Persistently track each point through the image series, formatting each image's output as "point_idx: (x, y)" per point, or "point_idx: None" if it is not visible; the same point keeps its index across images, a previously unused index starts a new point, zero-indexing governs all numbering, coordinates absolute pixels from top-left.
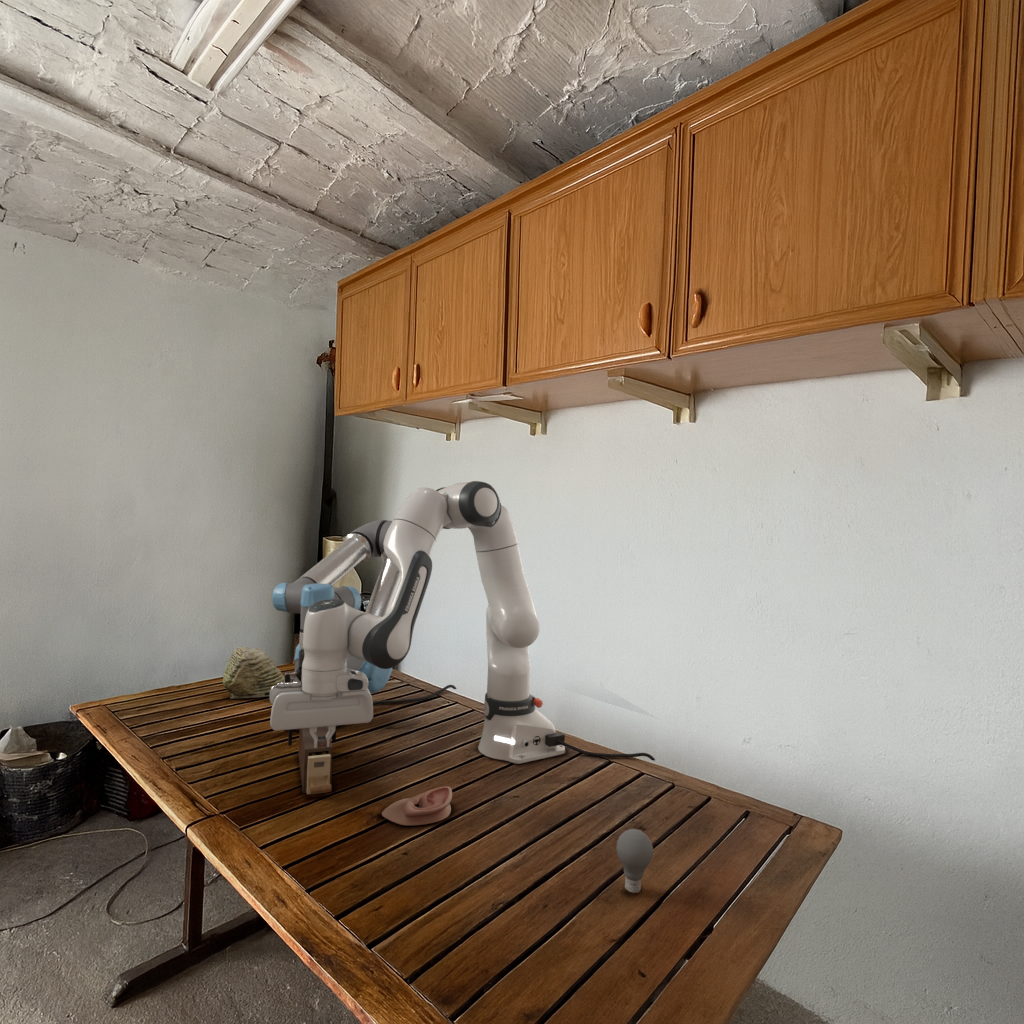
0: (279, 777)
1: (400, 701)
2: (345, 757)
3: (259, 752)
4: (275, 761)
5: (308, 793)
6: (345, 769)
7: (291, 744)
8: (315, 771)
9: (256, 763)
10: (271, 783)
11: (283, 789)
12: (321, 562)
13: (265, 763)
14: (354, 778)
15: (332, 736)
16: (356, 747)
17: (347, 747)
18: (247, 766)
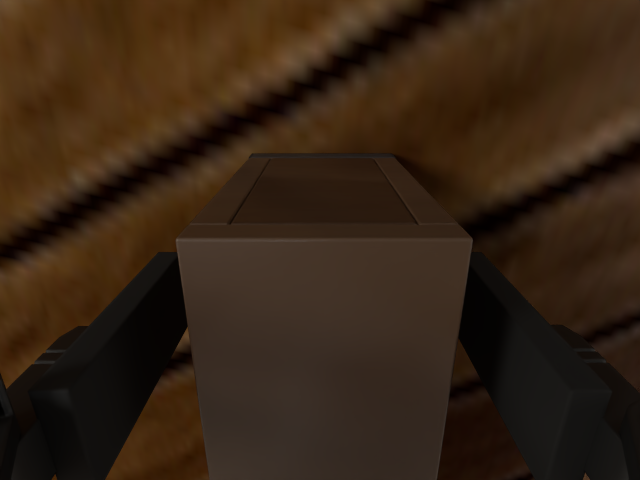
0: (179, 387)
1: None
2: (492, 260)
3: (12, 60)
4: (136, 222)
5: None
6: (457, 381)
7: (186, 325)
8: None
9: (41, 222)
10: (154, 426)
11: (205, 473)
12: None
13: (88, 234)
14: (470, 456)
15: (461, 318)
16: (596, 136)
17: (546, 122)
18: (5, 248)
